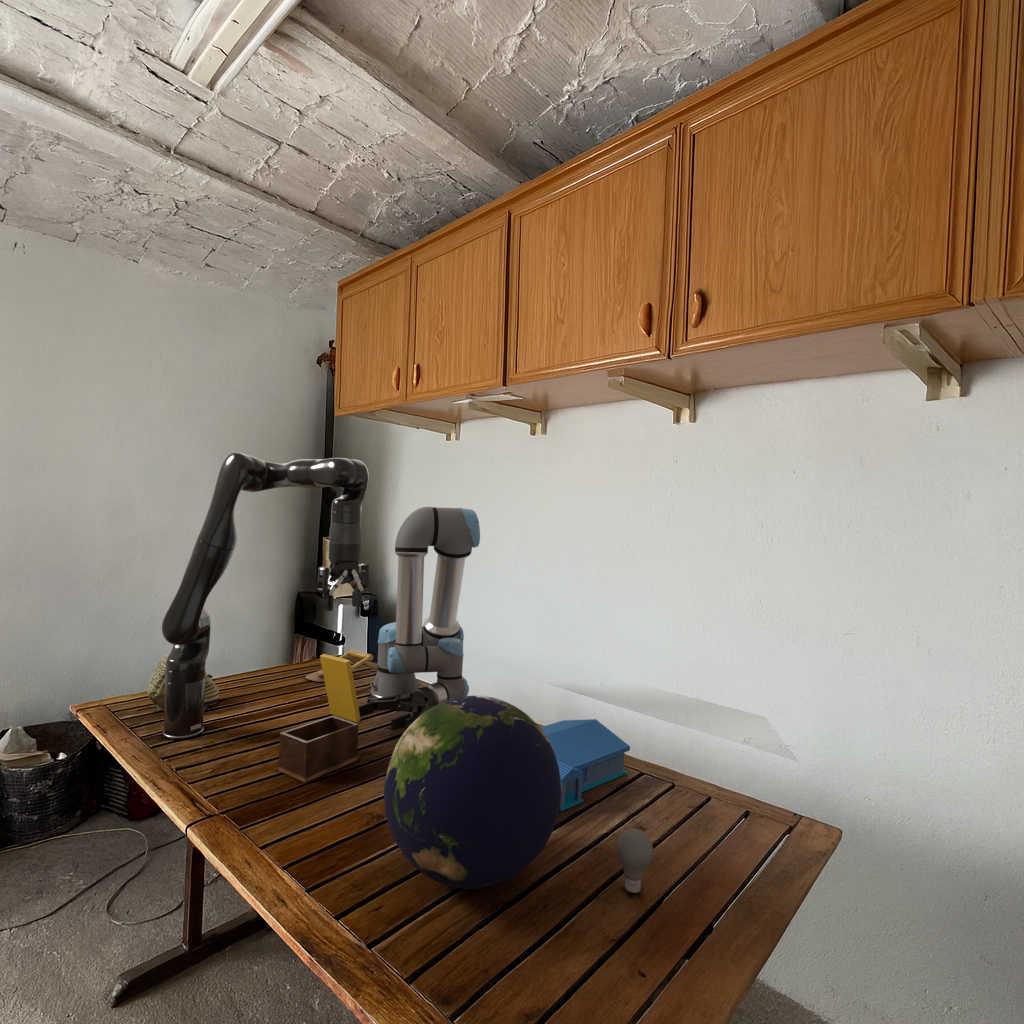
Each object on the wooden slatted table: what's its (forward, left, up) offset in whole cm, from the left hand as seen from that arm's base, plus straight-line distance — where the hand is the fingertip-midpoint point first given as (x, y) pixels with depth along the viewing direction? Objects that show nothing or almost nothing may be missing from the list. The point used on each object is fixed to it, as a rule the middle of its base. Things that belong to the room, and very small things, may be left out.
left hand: (342, 608), depth 153 cm
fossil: (-60, -17, -36) cm, 72 cm away
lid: (0, 0, -20) cm, 20 cm away
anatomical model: (-63, +30, -36) cm, 78 cm away
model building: (+40, +30, -36) cm, 62 cm away
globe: (+57, -6, -36) cm, 68 cm away
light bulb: (+78, +13, -36) cm, 87 cm away
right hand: (-3, +11, -30) cm, 32 cm away
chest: (+1, -5, -36) cm, 37 cm away
